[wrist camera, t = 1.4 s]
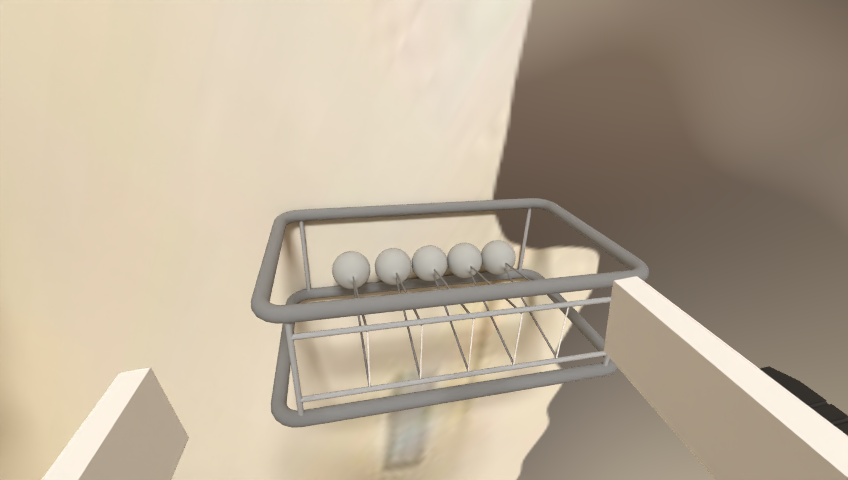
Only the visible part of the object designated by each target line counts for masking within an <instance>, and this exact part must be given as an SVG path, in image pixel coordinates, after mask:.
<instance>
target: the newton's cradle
mask: <svg viewBox="0 0 848 480" xmlns="http://www.w3.org/2000/svg"><path fill="white" fill-rule="evenodd" d="M522 208H528V212H527V219H526V224H525V231H524V237H523V243H522V249H521V256H520V262H519V268H518V269H514V268H513V266H514V263H515V257H516V256H515V252H514V250H513V248H512V247H511V246H510V245H509V244H508V243H506V242H504V241H501V240H496V241H492V242H489V243H488V244H487V245H485V247H484V248H483V250H482V252H481V253H480V251H479V250H478V249H477V248H476V247H475V246H474V245H472V244H469V243H460V244H457V245H455V246H454V247H452V249H451V250H450V251H449V253H448V256H447V258H446V255H445V253H444V252H443V251H442V250H441V249H440V248H438V247H436V246H432V245H428V246H424V247H421V248H420V249H418V250H417V251H416V252H415V254H414V256H413V258H412V266H411V260H410V258H409V256H408V255H407V254H406V253H405V252H404V251H402V250H400V249H397V248H390V249H387V250H384V251H383V252H382V253H380V254H379V256H378V257H377V259H376V262H375V271H376V274H377V276H378V277H379V278H380V279H381V280H382V281H383V282H375V283H365V282H366V281H367V279H368V278H369V275H370V264H369V262H368V260H367V259H366V257H365V256H363V255H362V254H360V253H358V252H354V251H349V252H345V253H343V254H341V255H339V256H338V257H337V259H336V260H335V262H334V264H333V268H332V273H333V277H334V279H335V281H336V282H337V283H338V284H339V285H340V286H332V287H322V288H310V279H309V270H308V261H307V252H306V243H305V234H304V225H303V221H311V220H328V219H346V218H364V217H381V216H399V215H417V214H434V213H452V212H470V211H488V210H505V209H522ZM532 208H539V209H544V210H547V211H549V212H550V213H552V214H553V215H555V216H556V217H557V218H559V219H560V220H562V221H563V222H564V223H566V224H567V225H569V226H570V227H571V228H573V229H574V230H576V231H577V232H578V233H580V234H581V235H583V236H584V237H585V238H587V239H588V240H590V241H591V242H592V243H594V244H595V245H597V246H598V247H599V248H601V249H602V250H604V251H605V252H606V253H608V254H609V255H611V256H612V257H614V258H615V259H616V260H618V261H619V262H620V263H622V264H623V265H625V266H626V267H627V268H629V269H630V270H629V271H619V272H609V273H599V274H589V275H579V276H569V277H559V278H549V279H545V278H544V277H543V276H541V275H540V274H539V273H537V272H535V271H532V270H527V269H522V264H523V258H524V252H525V246H526V239H527V233H528V227H529V220H530V215H531V209H532ZM297 221H299V225H300V234H301V242H302V251H303V260H304V268H305V277H306V286H307V289H304V290H301V291H298V292H296V293H294V294H292V295H291V296H290V297H289V298H288V300H287V302H286V305H274V304H272V303H270V302H269V301H270V297H271V292H272V287H273V283H274V278H275V273H276V269H277V264H278V260H279V255H280V250H281V246H282V241H283V236H284V232H285V227H286V225H287V224H289V223H292V222H297ZM447 264H448V267H449V269H450V271H451V272H452V273H453V274H454V275H450V276H443V275H444V273H445V271H446V269H447ZM481 265H483V267H484V268H485V269H486V270H487V271H488V272H482V273H479V272H478V271H479V270H480V268H481ZM411 267H412V268H413V271H414V273H415V274H416V275H417V276H418V277H419V278H418V279H407V278H408V276H409V275H410V272H411ZM511 268H512V269H513V270H511ZM648 274H649V269H648V267H647V265H646V264H645V263H644V262H643V261H642V260H640V259H639V258H637V257H636V256H634V255H633V254H631V253H630V252H628V251H627V250H625V249H623V248H622V247H621V246H619V245H618V244H616V243H615V242H613V241H612V240H610V239H609V238H607V237H606V236H604V235H602V234H601V233H599V232H598V231H596V230H595V229H593V228H592V227H590V226H589V225H587V224H586V223H584V222H583V221H581V220H580V219H578V218H577V217H575V216H574V215H572V214H570V213H569V212H568V211H566V210H565V209H563V208H562V207H560V206H559V205H557V204H555V203H553V202H551V201H548V200H544V199H538V198H526V199H506V200H486V201H466V202H446V203H426V204H407V205H387V206H367V207H347V208H327V209H308V210H294V211H289V212H286V213H283V214H281V215H279V216H278V217H277V218H276V219H275V220H274V223H273V226H272V230H271V233H270V237H269V240H268V244H267V247H266V251H265V254H264V257H263V261H262V264H261V268H260V271H259V275H258V278H257V282H256V285H255V288H254V292H253V295H252V299H251V309H252V311H253V312H254V313H255V315H256V316H257V317H258V318H260V319H262V320H264V321H266V322H271V323H283V326H282V332H281V339H280V346H279V352H278V359H277V366H276V372H275V379H274V386H273V393H272V399H271V412H272V414H273V416H274V418H275V419H276V420H277V421H278V422H279V423H281V424H282V425H285V426H289V427H305V426H311V425H317V424H323V423H329V422H335V421H341V420H347V419H353V418H359V417H365V416H371V415H377V414H383V413H389V412H395V411H401V410H406V409H412V408H418V407H424V406H430V405H436V404H442V403H448V402H454V401H460V400H466V399H472V398H478V397H484V396H490V395H496V394H502V393H508V392H514V391H519V390H525V389H531V388H537V387H543V386H549V385H555V384H561V383H567V382H573V381H579V380H585V379H591V378H597V377H603V376H607V375H610V374H613V373H614V372H615V371H616V370H617V369H618V367H617V366H616V364H615V363H614V362H613V361H612V360H611V359H610V358H609V356H608V355H607V354H606V353H605V352H604V346H605V340H604V339H603V338H602V337H601V336H600V335H599V334H598V333H597V332H596V331H595V330H594V329H593V328H592V327H591V326H590V325H589V324H588V323H587V322H586V321H585V320H584V319H583V317H582V316H581V315H580V314H579V313H578V312H577V311H576V310H575V309H574V308H573V306H581V305H589V304H597V303H605V302H611V297H605V298H597V299H587V300H579V301H570V302H567V301H566V300H565V299H564V298H563V297H562V296H561V295H560V294H559V293H564V292H573V291H582V290H591V289H600V288H609V287H613V281H614V280H619V279H624V278H630V277H635V276H637V277H639V278H640V279H641V280H643V281H644V280H646V279H647V278H648ZM515 278H526V279H527V280H528V281H520V282H513V281H512V279H515ZM406 279H407V280H406ZM505 279H510V280H511V282H510V283H500V284H491V283H490V282H489V281H495V280H505ZM485 281H486V282H487V283H488V284H489V285H480V286H477V284H476V282H485ZM364 283H365V284H364ZM465 283H475V285H476V286H470V287H461V288H450V287H449V286H448V285H454V284H465ZM444 285H446V286H447V287H448V289H441V290H440V288H439V286H444ZM434 286H437V287H438V290H431V291H421V292H411V293H407V291H406V289H414V288H424V287H434ZM394 290H398V291H399V294H391V295H382V296H372V297H362V298H360V297H359V294H364V293H374V292H384V291H394ZM400 290H404V291H405V293H401V292H400ZM356 294H357V297H358V298H357V297H356ZM546 294H547V295H548V297H549V298H550V299H551V300H552V301H553V302H554V303H553V304H545V305H536V306H527V304H526V303H525V301H524V299H523V298H522V297H528V296H537V295H546ZM344 295H355V298H352V299H342V300H332V301H322V302H312V303H303V304H298V303H299V302H301V301H303V300H306V299H313V298H323V297H333V296H344ZM519 297H521V299H522V301H523V303H524V304H525V306H526V307H519V308H517V307H516V306H515V305H514V304H513V303H512V302H511V301H510V300H508V299H510V298H519ZM501 299H506V300H507V301H508V302H509V303H510V304H511V305H512V306H513V307H514V308H511V309H502V310H493V311H489V309H488V307H487V305H486V303H485V301H492V300H501ZM474 302H484V304H485V306H486V309H487V311H485V312H476V313H470V312H469V311H468V310H467V309H466V307H465V306H464V305H463V304H465V303H474ZM456 304H461V305H462V307H463V308H464V309H465V311H466V312H467V313H468V314H459V315H451V316H449V313H448V310H447V308H446V306H447V305H456ZM438 306H444V307H445V310H446V313H447V315H448V316H442V317H434V318H425V319H420V318H419V316H418V314H417V311H416V309H420V308H429V307H438ZM556 308H559V309H560V310H561V311H562V312H563V313H564V314H565V315H566V316H565V321H564V325H563V329H562V333H561V338H560V342H559V346H558V351H557V355H556V354H555V352H554V350H553V349H552V347H551V345H550V344H549V342H548V340H547V338H546V337H545V335H544V333H543V332H542V330H541V328H540V327H539V325H538V323H537V321H536V320H535V318H534V316H533V315H532V313H531V311H539V310H548V309H556ZM411 309H413V310H414V312H415V314H416V316H417V318H418V319H417V320H408V321H407V317H406V313H405V310H411ZM402 310H403V312H404V316H405V320H406V321H400V322H391V323H383V324H374V325H367V324H366V320H365V316H364V315H366V314H375V313H384V312H393V311H402ZM523 312H529V313H530V315H531V316H532V318H533V320H534V322H535V323H536V325H537V327H538V328H539V330H540V332H541V334H542V335H543V337H544V339H545V340H546V342H547V344H548V346H549V347H550V349H551V351H552V352H553V354H554V356H555V358H553V359H546V360H540V361H533V362H527V363H520V364H514V362H515V356H516V351H517V345H518V339H519V333H520V328H521V322H522V316H523ZM514 313H521V320H520V326H519V332H518V338H517V343H516V349H515V355H514V361H513V359H512V357H511V355H510V353H509V351H508V349H507V347H506V344H505V342H504V340H503V338H502V336H501V334H500V332H499V330H498V328H497V326H496V324H495V321H494V319H493V317H492V316H498V315H506V314H514ZM357 315H358V321H359V326H357V327H348V328H340V329H331V330H323V331H314V332H306V333H297V334H294V327H295V322H303V321H312V320H321V319H330V318H339V317H348V316H357ZM360 315H362V317H363V321H364V325H365V326H361V322H360ZM481 317H491V319H492V321H493V323H494V326H495V328H496V330H497V332H498V334H499V336H500V338H501V340H502V342H503V345H504V347H505V349H506V351H507V353H508V355H509V357H510V359H511V362H512V365H507V366H500V367H494V368H487V369H481V370H474V371H469V365H470V356H471V347H472V337H473V328H474V319H475V318H481ZM567 317H568V318H569V320H570V321H571V322H572V323H573V324H574V325H575V326H576V327H577V328H578V329H579V330H580V331H581V333H582V334H583V335H584V336H585V337H586V338H587V339H588V340H589V341H590V342H591V343H592V345H593V346H594V347H595V348H596V349H597V350H598V351H599V352H593V353H586V354H580V355H573V356H566V357H560V358H557V356H558V352H559V347H560V343H561V339H562V335H563V330H564V326H565V322H566V318H567ZM465 319H473V326H472V335H471V344H470V353H469V363H468V366H467V363H466V360H465V357H464V355H463V352H462V349H461V346H460V343H459V341H458V338H457V335H456V332H455V330H454V327H453V324H452V321H456V320H465ZM448 321H450V324H451V327H452V329H453V332H454V335H455V338H456V341H457V343H458V346H459V349H460V352H461V355H462V357H463V360H464V363H465V366H466V369H467V372H461V373H454V374H448V375H441V376H434V377H428V378H421V364H422V338H423V324H431V323H440V322H448ZM415 325H421V326H422V330H421V357H420V370H419V366H418V362H417V358H416V354H415V350H414V346H413V342H412V337H411V333H410V329H409V326H415ZM398 327H407V329H408V333H409V337H410V341H411V346H412V350H413V354H414V358H415V362H416V366H417V371H418V375H419V379H415V380H408V381H401V382H395V383H388V384H382V385H375V386H371V385H370V366H369V339H368V331H373V330H382V329H390V328H398ZM365 331H366V332H367V348H368V366H367V359H366V353H365V347H364V341H363V334H362V332H365ZM357 332H360V334H361V340H362V347H363V353H364V360H365V366H366V373H367V379H368V387H362V388H355V389H349V390H342V391H335V392H329V393H322V394H316V395H309V396H303V397H302V395H301V388H300V381H299V374H298V367H297V360H296V353H295V346H294V340H299V339H307V338H315V337H324V336H332V335H340V334H349V333H357ZM598 356H603V357H604V361H603V362H602V363H597V364H590V365H584V366H578V367H571V368H565V369H559V370H553V371H546V372H540V373H534V374H527V375H521V376H515V377H509V378H502V379H496V380H490V381H483V382H477V383H471V384H465V385H458V386H452V387H446V388H439V389H433V390H427V391H421V392H414V393H408V394H402V395H395V396H389V397H383V398H377V399H370V400H364V401H358V402H351V403H345V404H339V405H333V406H326V407H320V408H314V409H307V410H304V409H303V402H308V401H315V400H321V399H328V398H334V397H341V396H347V395H354V394H360V393H367V392H373V391H379V390H386V389H392V388H399V387H405V386H412V385H418V384H425V383H431V382H438V381H444V380H451V379H457V378H463V377H470V376H476V375H483V374H489V373H496V372H502V371H509V370H515V369H522V368H528V367H534V366H541V365H547V364H554V363H560V362H567V361H573V360H579V359H586V358H593V357H598ZM290 365H291V369H292V375H293V382H294V388H295V395H296V402H297V408H298V411H295V410H291V409H290V408H288V406H287V393H288V384H289V374H290Z"/></svg>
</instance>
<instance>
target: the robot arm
mask: <svg viewBox="0 0 848 480" xmlns="http://www.w3.org/2000/svg"><path fill="white" fill-rule="evenodd" d="M604 352H605V353H606V354H607V355H608V356H609V358H610V359H611V360H612V361H613V362H614V363H615V364H616V366H617V367H618V368H619V369H620V370H621V371H622V373H623V374H624V375H625V376H626V377H627V378H628V379H629V380H630V382H631V383H632V384H633V385H634V386H635V388H636V389H637V390H638V391H639V392H640V393H641V394H642V395H643V397H644V398H645V399H646V400H647V401H648V402H649V404H650V405H651V406H652V407H653V408H654V409H655V410H656V412H657V413H658V414H659V415H660V416H661V417H662V419H663V420H664V421H665V422H666V423H667V424H668V425H669V427H670V428H671V429H672V430H673V431H674V432H675V434H677V436H678V437H679V438H680V439H681V440H682V442H683V443H684V444H685V445H686V446H687V447H688V448H689V450H690V451H691V452H692V453H693V454H694V455H695V457H696V458H697V459H698V460H699V461H700V462H701V463H702V465H703V466H704V467H705V468H706V469H707V470H708V472H709V473H710V474H711V475H712V476H713V477H714V478H715V480H848V416H847V415H846V414H845V413H843V412H842V411H840V410H839V409H838V408H836V407H835V406H834V405H832V404H830V405H829V404H827V402H826V400H825V399H824V398H822V397H821V396H819V395H818V394H817V393H815V392H814V391H813V390H811V389H810V388H808V387H807V386H806V385H804V384H803V383H801V382H800V381H798V380H796V379H794V378H792V377H790V376H788V375H786V374H784V373H781V372H780V371H777V370H775V369H773V368H771V367H765V368H761V369H759V368H757V367H756V366H755V365H754V364H752V363H751V362H749V361H748V360H747V359H746V358H744V357H743V356H742V355H740V354H739V353H738V352H736V351H735V350H734V349H732V348H731V347H730V346H728V345H727V344H726V343H724V342H723V341H722V340H721V339H719V338H718V337H717V336H715V335H714V334H713V333H711V332H710V331H708V330H707V329H706V328H705V327H703V326H702V325H701V324H699V323H698V322H697V321H695V320H694V319H693V318H692V317H690V316H689V315H687V314H686V313H685V312H684V311H682V310H681V309H680V308H678V307H677V306H676V305H674V304H673V303H672V302H670V301H669V300H668V299H666V298H665V297H664V296H662V295H661V294H660V293H659V292H657V291H655V290H654V289H653V288H652V287H650V286H649V285H648V284H646V283H645V282H644V281H643V280H641V279H640V278H639V277H637V276H635V277H630V278H624V279H619V280H614V281H613V288H612V295H611V303H610V310H609V317H608V324H607V332H606V339H605V346H604ZM188 438H189V437H188V435H187V433H186V432H185V430H184V428H183V426H182V424H181V422H180V420H179V419H178V417H177V415H176V413H175V411H174V409H173V407H172V406H171V404H170V402H169V400H168V398H167V396H166V395H165V393H164V391H163V389H162V387H161V385H160V383H159V382H158V380H157V378H156V376H155V374H154V372H153V371H152V369H151V367H149V368H144V369H138V370H133V371H128V372H122V373H119V374H118V376H117V377H116V379H115V380H114V381H113V383H112V384H111V385H110V387H109V388H108V389H107V391H106V392H105V394H104V395H103V396H102V398H101V399H100V400H99V402H98V403H97V405H96V406H95V407H94V409H93V410H92V411H91V413H90V414H89V415H88V417H87V418H86V420H85V421H84V422H83V424H82V425H81V426H80V428H79V429H78V431H77V432H76V433H75V435H74V436H73V437H72V439H71V440H70V441H69V443H68V444H67V446H66V447H65V448H64V450H63V451H62V452H61V454H60V455H59V457H58V458H57V459H56V461H55V462H54V463H53V465H52V466H51V467H50V469H49V470H48V472H47V473H46V474H45V476H44V477H43V478H42V480H171V479H172V476H173V474H174V471H175V469H176V467H177V464H178V462H179V460H180V457H181V455H182V453H183V450H184V448H185V445H186V443H187V441H188Z"/></svg>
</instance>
